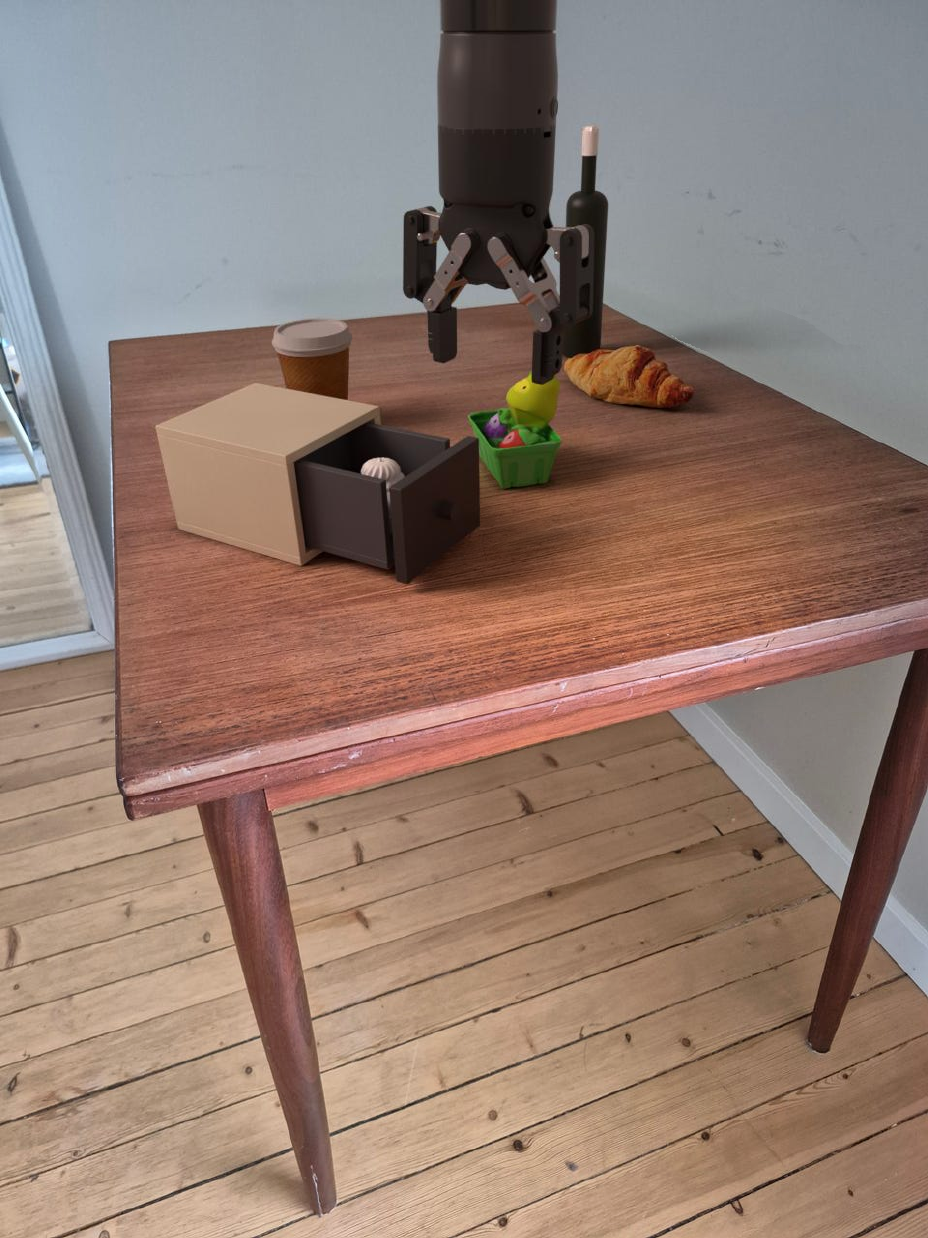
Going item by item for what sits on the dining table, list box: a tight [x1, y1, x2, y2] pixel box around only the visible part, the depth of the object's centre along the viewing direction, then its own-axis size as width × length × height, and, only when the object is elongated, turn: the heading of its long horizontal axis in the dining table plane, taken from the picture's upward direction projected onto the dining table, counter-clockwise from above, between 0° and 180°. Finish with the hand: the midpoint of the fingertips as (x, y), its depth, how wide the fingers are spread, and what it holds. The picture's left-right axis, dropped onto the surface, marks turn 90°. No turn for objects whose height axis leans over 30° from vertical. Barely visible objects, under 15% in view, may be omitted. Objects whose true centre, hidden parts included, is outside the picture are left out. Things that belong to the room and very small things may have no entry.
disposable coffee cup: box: [271, 317, 353, 401], centre depth 109 cm, size 10×10×12 cm
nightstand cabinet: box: [154, 382, 382, 567], centre depth 88 cm, size 16×14×11 cm
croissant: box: [563, 344, 695, 409], centre depth 117 cm, size 21×10×8 cm, turn 43°
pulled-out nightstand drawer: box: [293, 422, 481, 585], centre depth 82 cm, size 16×13×9 cm
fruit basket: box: [467, 370, 563, 490], centre depth 96 cm, size 11×9×11 cm
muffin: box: [361, 457, 405, 535], centre depth 82 cm, size 6×6×7 cm
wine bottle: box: [562, 125, 609, 358], centre depth 127 cm, size 6×6×30 cm
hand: (493, 370), depth 66 cm, fingers open, 8 cm apart
